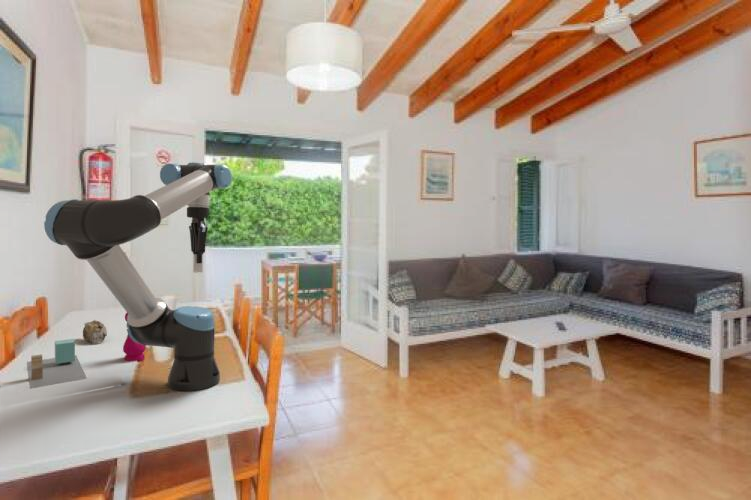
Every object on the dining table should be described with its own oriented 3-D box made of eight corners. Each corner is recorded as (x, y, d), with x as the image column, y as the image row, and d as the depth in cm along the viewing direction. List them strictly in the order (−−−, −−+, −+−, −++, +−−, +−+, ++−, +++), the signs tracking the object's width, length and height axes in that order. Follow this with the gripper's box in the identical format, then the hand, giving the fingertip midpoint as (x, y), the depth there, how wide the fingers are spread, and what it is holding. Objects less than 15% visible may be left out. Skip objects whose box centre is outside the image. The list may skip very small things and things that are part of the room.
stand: (87, 380, 135) (87, 378, 135) (29, 390, 126) (29, 388, 126) (76, 356, 158) (76, 354, 158) (27, 363, 149) (27, 361, 149)
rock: (112, 339, 177) (105, 316, 178) (94, 344, 172) (87, 320, 173) (102, 343, 185) (96, 320, 186) (85, 348, 180) (78, 325, 180)
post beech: (42, 378, 134) (42, 356, 134) (31, 380, 132) (31, 357, 132) (42, 376, 136) (41, 354, 136) (31, 377, 134) (31, 355, 134)
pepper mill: (135, 363, 152) (135, 307, 151) (118, 362, 153) (117, 306, 152) (150, 357, 159) (150, 304, 158) (133, 356, 160) (133, 302, 159)
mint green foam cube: (74, 361, 148) (74, 342, 148) (56, 363, 145) (55, 344, 145) (73, 357, 152) (72, 338, 152) (54, 359, 149) (54, 341, 148)
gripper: (215, 207, 152) (214, 273, 154) (202, 207, 162) (202, 269, 163) (193, 205, 147) (193, 274, 149) (181, 206, 157) (181, 270, 159)
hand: (197, 272), depth 156 cm, fingers closed
